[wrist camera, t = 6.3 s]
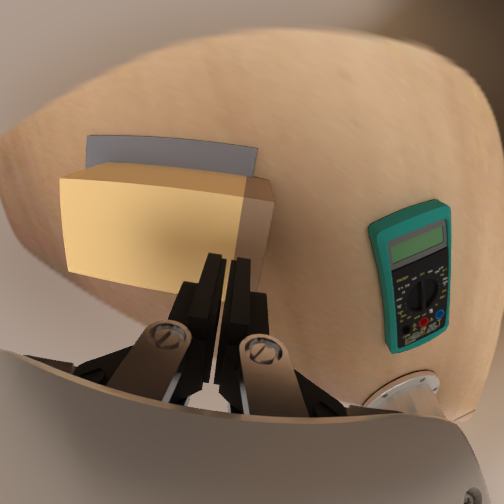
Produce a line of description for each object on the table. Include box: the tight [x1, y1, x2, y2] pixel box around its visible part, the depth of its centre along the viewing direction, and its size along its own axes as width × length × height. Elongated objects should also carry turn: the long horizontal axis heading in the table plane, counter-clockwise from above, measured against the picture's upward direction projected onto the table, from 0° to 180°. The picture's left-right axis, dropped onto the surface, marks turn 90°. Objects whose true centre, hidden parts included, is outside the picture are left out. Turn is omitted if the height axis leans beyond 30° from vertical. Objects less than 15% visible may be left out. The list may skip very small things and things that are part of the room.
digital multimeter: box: [368, 200, 451, 354], centre depth 21 cm, size 7×15×3 cm, turn 22°
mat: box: [86, 135, 257, 177], centre depth 19 cm, size 10×13×1 cm
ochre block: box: [60, 162, 275, 302], centre depth 16 cm, size 6×6×12 cm
